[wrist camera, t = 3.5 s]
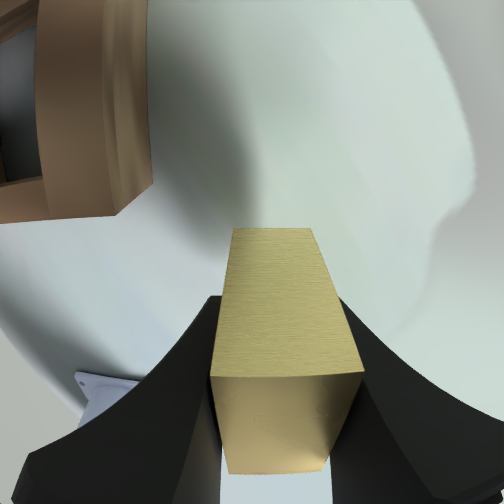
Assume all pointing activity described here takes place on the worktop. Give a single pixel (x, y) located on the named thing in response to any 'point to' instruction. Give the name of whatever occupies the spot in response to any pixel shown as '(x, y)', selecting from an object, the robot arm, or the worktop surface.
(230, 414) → the block
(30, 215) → the walnut box
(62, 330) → the worktop surface
